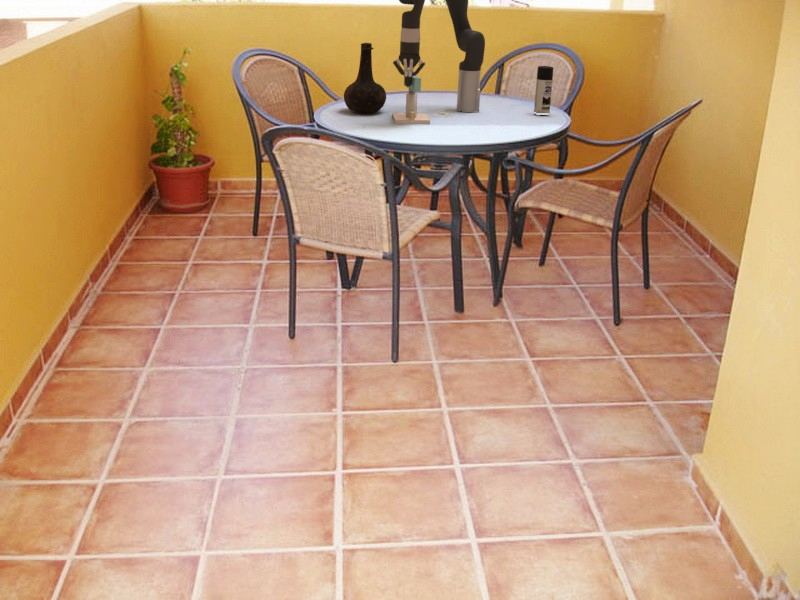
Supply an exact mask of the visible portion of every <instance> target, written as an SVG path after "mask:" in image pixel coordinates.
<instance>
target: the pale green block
mask: <svg viewBox="0 0 800 600" xmlns="http://www.w3.org/2000/svg"><path fill="white" fill-rule="evenodd" d="M403 86H405V87H406V88H408V93H409V94H416V92H421V91H422V89H421V88H422V78H421V77H419V76H417V75H415V76H413V79H412V85H411V86H410V87H408V86H406V85H405V76H404V75H403Z"/></svg>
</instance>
